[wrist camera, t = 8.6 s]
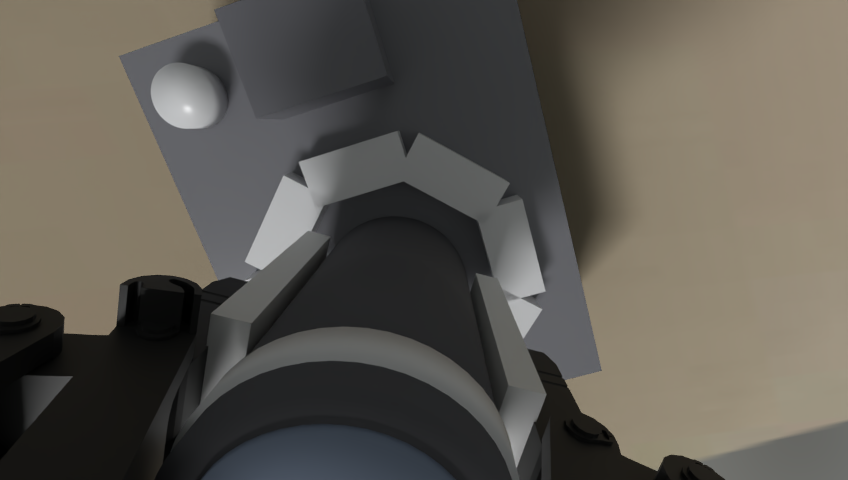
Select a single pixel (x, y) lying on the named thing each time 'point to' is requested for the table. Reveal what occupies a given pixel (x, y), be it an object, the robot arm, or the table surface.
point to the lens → (359, 376)
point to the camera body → (371, 142)
